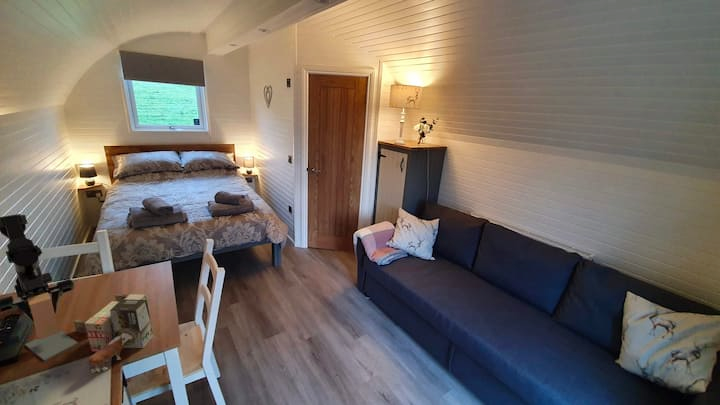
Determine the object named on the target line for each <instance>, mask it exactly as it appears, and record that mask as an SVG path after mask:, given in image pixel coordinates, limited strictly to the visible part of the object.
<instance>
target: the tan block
mask: <svg viewBox="0 0 720 405" xmlns="http://www.w3.org/2000/svg"><path fill="white" fill-rule="evenodd" d="M27 300H28V303H29V307H30V310H31V314H32V316H33V319H34V322H33V324H34V327H35V331H36V334H37V337H38V338H39V339H40V340H41V339H44V338H46V337H49V336H52V335H54V334H57V333H60V331H61V330H60V327H59V324H58V321H57V317H56V314H55V312H54V308H53V305H52V298H51V295H50V294H48V292H47V293H44V294H41V295H37V296H34V297H30V298H27ZM59 330H60V331H59Z"/></svg>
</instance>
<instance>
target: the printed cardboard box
mask: <svg viewBox="0 0 720 405" xmlns="http://www.w3.org/2000/svg"><path fill="white" fill-rule="evenodd" d="M128 295H129V296H128V297H126V298H125V299H133V300H147V295H146V294H139V293H138V294H135V293H134V294H132V293H131V294H128ZM117 303H118V302H116V300H115V301H113V300H112V301H110V302H109V303H107V305H106V306H105V307H103V308H101V309H100V310H99V311H98V312H97V313H96V314H94V315H93V316H92V317H90V318H89V319H88V320H85V321H86V322H85V327H86V333H85V334H86V336H87V338H88V342H89V347H90V351H91V352H95V353H96V352H97V351H99V350H100V349H102V348H103V347H104V346H106V345H107V344H108V343H109V342H111V341H112V340H114V339H115V338H116V335H115V331H114V327H113V322H112V318H111V314H110V310H111V309H112V308H113V307H114V306H115V305H116V304H117Z"/></svg>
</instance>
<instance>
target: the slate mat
mask: <svg viewBox="0 0 720 405" xmlns="http://www.w3.org/2000/svg"><path fill="white" fill-rule="evenodd" d="M59 331H60V333H57V334H54V335H52V336H49V337H46V338H44V339H41V340H40V339H39V337H38V338H36V339H34V340H31V341H29V342H27V343H25V347H27V348H28V349H29V350H30V351H31V352H33V353H34V354H35V355H37V356H38V358H41V360H42V361H44V362H46V361H48V360H50V359H52V358H53V357H55V356H57V355H59V354H61V353H64V352H65V351H68V350H69V349H72V348H73V347H76V346H77V345H78V344H79V343H78V341H76V340H75V339H73V338H71V337H70V336H69V335H68V334H66V333H64V332H63V331H62V330H60V329H59Z"/></svg>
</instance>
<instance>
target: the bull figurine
mask: <svg viewBox="0 0 720 405" xmlns="http://www.w3.org/2000/svg"><path fill="white" fill-rule="evenodd" d="M132 337H133V336H132V335H130V334H128V333H123V332H121V336H118V337H116V338H115V339H114V340H112V341H111V342H109V343H108V344H107V345H106V346H104V347H103V348H102V349H100V350H99V351H97V352H95V353H93V354H92V355H90V356H89V357H88V359H87V364H88V366H90V367H89V370H90V371H91V374H95V373H94V372H96V371H97V372H98V373H99V372H101V370H103V371H104V372H105V371H107V370H106V369H107V367H108V366H107V367H106V366H105V365H104V363H105V362H108V361H109V360H110V359H112V358H113V357H114V356H115V357H116V361H121V360H122V357H120V355H121V352H122V349H123V348H122V346H123V345H124V342H126V341H127V340H128V339H132ZM103 371H102V372H103ZM97 372H96V373H97Z"/></svg>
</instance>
